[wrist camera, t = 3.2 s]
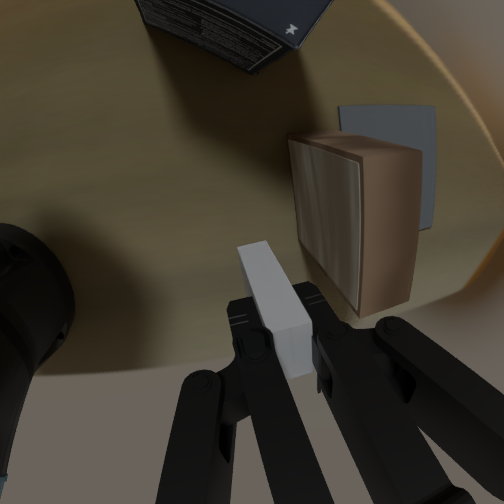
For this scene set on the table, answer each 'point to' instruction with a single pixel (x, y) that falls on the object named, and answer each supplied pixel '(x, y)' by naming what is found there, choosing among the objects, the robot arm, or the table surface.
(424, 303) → the table surface
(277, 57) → the small box
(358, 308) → the brown rectangular box
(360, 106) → the mat
